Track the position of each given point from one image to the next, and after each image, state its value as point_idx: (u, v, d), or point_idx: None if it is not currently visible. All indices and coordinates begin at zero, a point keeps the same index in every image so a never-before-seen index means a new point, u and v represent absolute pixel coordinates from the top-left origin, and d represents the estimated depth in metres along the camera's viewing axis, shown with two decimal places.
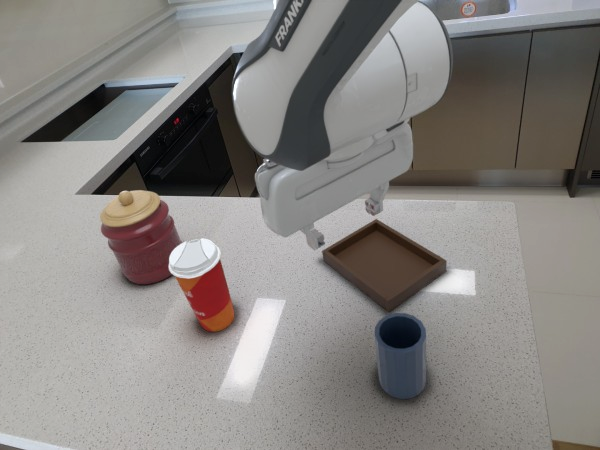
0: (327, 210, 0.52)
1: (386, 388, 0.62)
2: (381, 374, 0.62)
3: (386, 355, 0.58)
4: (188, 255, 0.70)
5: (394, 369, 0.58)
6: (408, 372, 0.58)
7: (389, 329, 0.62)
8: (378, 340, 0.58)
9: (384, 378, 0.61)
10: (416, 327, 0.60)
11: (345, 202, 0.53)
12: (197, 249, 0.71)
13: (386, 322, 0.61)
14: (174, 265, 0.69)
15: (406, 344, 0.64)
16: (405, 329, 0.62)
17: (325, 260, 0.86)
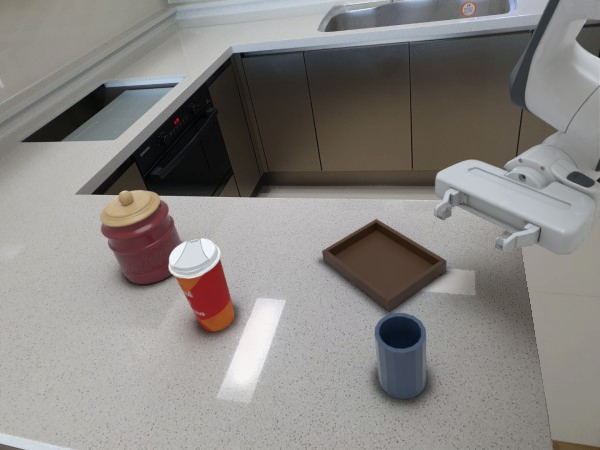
0: (473, 188, 0.61)
1: (386, 388, 0.62)
2: (381, 374, 0.62)
3: (386, 355, 0.58)
4: (188, 255, 0.70)
5: (394, 369, 0.58)
6: (408, 372, 0.58)
7: (389, 329, 0.62)
8: (378, 340, 0.58)
9: (384, 378, 0.61)
10: (416, 327, 0.60)
11: (490, 196, 0.59)
12: (197, 249, 0.71)
13: (386, 322, 0.61)
14: (174, 265, 0.69)
15: (406, 344, 0.64)
16: (405, 329, 0.62)
17: (325, 260, 0.86)
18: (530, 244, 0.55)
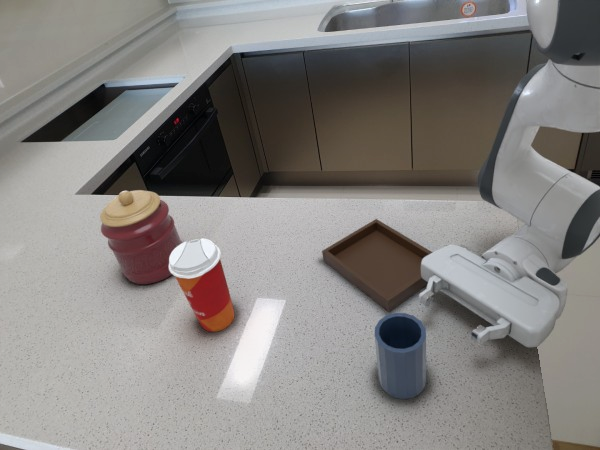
0: (454, 278, 0.68)
1: (386, 388, 0.62)
2: (381, 374, 0.62)
3: (386, 355, 0.58)
4: (188, 255, 0.70)
5: (394, 369, 0.58)
6: (408, 372, 0.58)
7: (389, 329, 0.62)
8: (378, 340, 0.58)
9: (384, 378, 0.61)
10: (416, 327, 0.60)
11: (468, 288, 0.66)
12: (197, 249, 0.71)
13: (386, 322, 0.61)
14: (174, 265, 0.69)
15: (406, 344, 0.64)
16: (405, 329, 0.62)
17: (325, 260, 0.86)
18: (502, 336, 0.62)
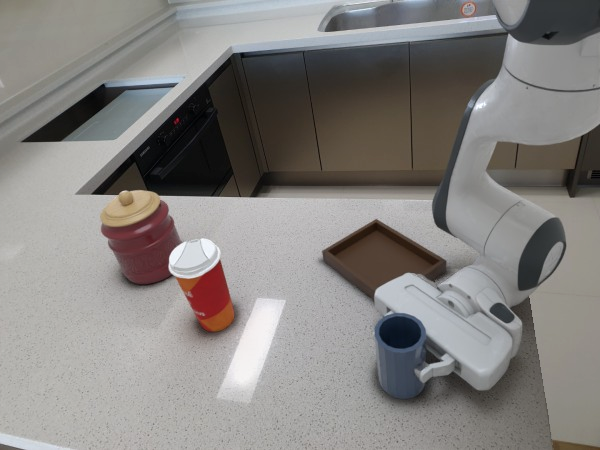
0: (406, 312, 0.64)
1: (385, 387, 0.62)
2: (381, 374, 0.62)
3: (386, 355, 0.58)
4: (188, 255, 0.70)
5: (394, 369, 0.58)
6: (408, 371, 0.58)
7: (389, 329, 0.62)
8: (378, 340, 0.58)
9: (384, 378, 0.61)
10: (416, 327, 0.60)
11: None
12: (197, 249, 0.71)
13: (386, 322, 0.61)
14: (174, 265, 0.69)
15: (405, 344, 0.64)
16: (405, 329, 0.62)
17: (325, 260, 0.86)
18: (446, 373, 0.59)
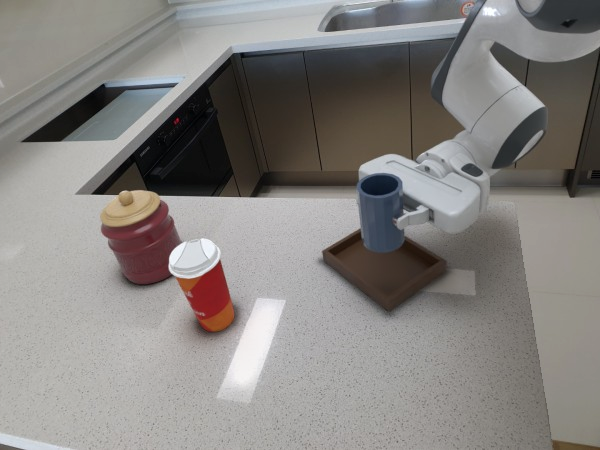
0: None
1: (367, 243, 0.69)
2: (363, 229, 0.68)
3: (366, 204, 0.64)
4: (188, 255, 0.70)
5: (374, 218, 0.65)
6: (386, 220, 0.65)
7: (370, 189, 0.68)
8: (359, 191, 0.64)
9: (366, 232, 0.68)
10: (394, 183, 0.66)
11: None
12: (197, 249, 0.71)
13: (367, 181, 0.67)
14: (174, 265, 0.69)
15: None
16: (385, 189, 0.68)
17: (325, 260, 0.86)
18: (421, 222, 0.65)
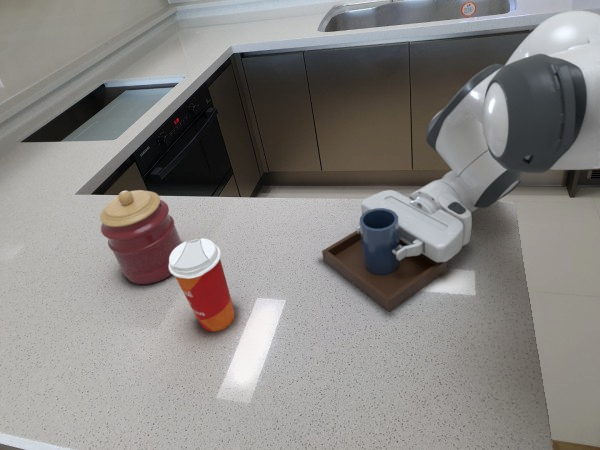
0: None
1: (369, 267, 0.81)
2: (365, 256, 0.80)
3: (368, 235, 0.76)
4: (188, 255, 0.70)
5: (374, 247, 0.77)
6: (385, 249, 0.77)
7: (371, 221, 0.81)
8: (362, 224, 0.77)
9: (367, 258, 0.80)
10: (391, 217, 0.79)
11: None
12: (197, 249, 0.71)
13: (369, 215, 0.80)
14: (174, 265, 0.69)
15: None
16: (383, 221, 0.81)
17: (325, 260, 0.86)
18: (417, 254, 0.77)
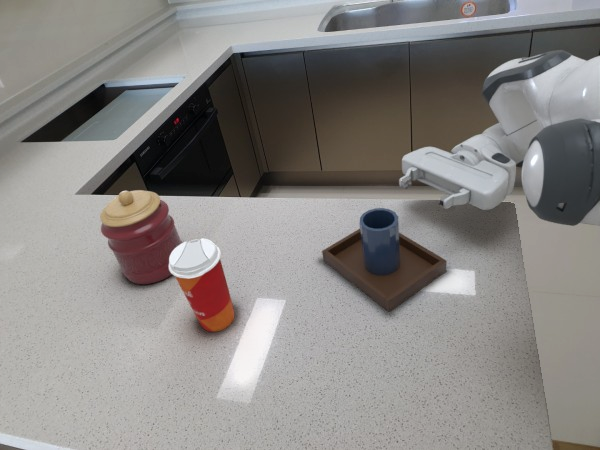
0: (427, 166, 0.84)
1: (369, 267, 0.81)
2: (365, 256, 0.80)
3: (368, 235, 0.76)
4: (188, 255, 0.70)
5: (374, 247, 0.77)
6: (385, 249, 0.77)
7: (371, 221, 0.81)
8: (362, 224, 0.77)
9: (367, 258, 0.80)
10: (391, 217, 0.79)
11: (438, 171, 0.82)
12: (197, 249, 0.71)
13: (369, 215, 0.80)
14: (174, 265, 0.69)
15: None
16: (383, 221, 0.81)
17: (325, 260, 0.86)
18: (463, 203, 0.78)
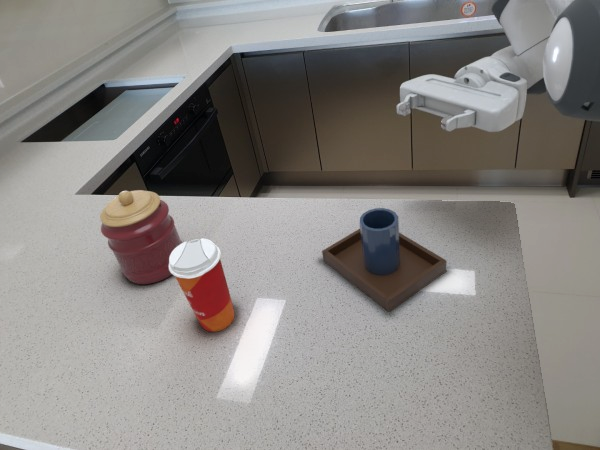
0: (428, 90, 0.76)
1: (369, 267, 0.81)
2: (365, 256, 0.80)
3: (368, 235, 0.76)
4: (188, 255, 0.70)
5: (374, 247, 0.77)
6: (385, 249, 0.77)
7: (371, 221, 0.81)
8: (362, 224, 0.77)
9: (367, 258, 0.80)
10: (391, 217, 0.79)
11: (440, 94, 0.74)
12: (197, 249, 0.71)
13: (369, 215, 0.80)
14: (174, 265, 0.69)
15: None
16: (383, 221, 0.81)
17: (325, 260, 0.86)
18: (468, 125, 0.70)
